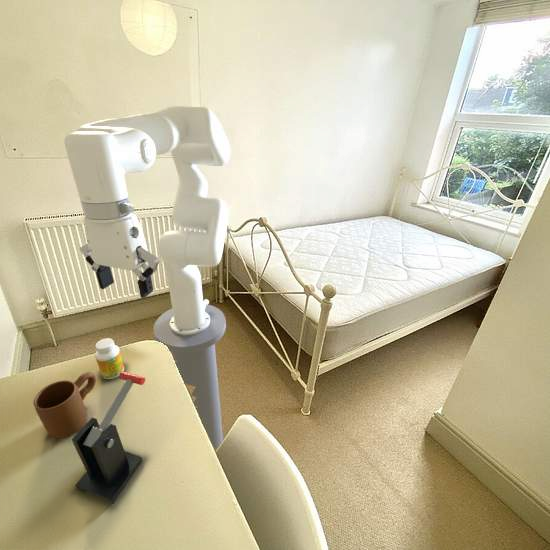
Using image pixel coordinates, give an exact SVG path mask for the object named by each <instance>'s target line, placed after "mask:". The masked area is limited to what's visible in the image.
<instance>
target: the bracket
mask: <svg viewBox="0 0 550 550" xmlns="http://www.w3.org/2000/svg"><path fill="white" fill-rule="evenodd" d="M99 426H100V424H99V422H98V418H96V417H95V418H94V417H91V418H90V419H89V420H88V421H86V422H85V424H84V425H83V427H82V428H81V429H80V430H78V431H77V432H76V433H75V435H74V436H73V437H72V438H71V442H72V444H73V447H74V448H75V451H76V453H77V455H78V457H79V459H80V461H81V463H82V465H83V467H84V469H85V471H86V472H85V473H84V474H83V475H82V477H81V478H80V479H79V480H78V482H77V483H76V484H75V489H76V490H78V491H80V492H84V493H86V494H88V495H90V496H93V497H94V498H97V499H100V500H102V501H105V502H107V503H109V504H112V505H113V504H115V502H116V501H117V499H118V498H119V496H120V495H121V494H122V492H123V491H124V489H125V488H126V486H127V484H128V483H129V481H130V480H131V478H132V477H133V475H134V474H135V473H136V471H137V470H138V468H139V467H140V465H141V464H142V462H143V457H142V456H140V455H137V454H134V453H131V452H129V451H125V449H124V448H125V447H124V445H123V443H122V440H121V437H120V434H119V431H118V428H117V425H115V424H113V423H110V425H109V426H108V428H107V429H106V430H105V431H104V432H103V433H102V435H101V436H100V437H99V438H98V439H97V440H96V442H95V443H94V444H93V445H92V446H91V447H89V446H86V445H83V443H84V441H85V439H86V438H87V436H88V434H89V433H90V431H91V429H92V428H93V427H95V428H98V427H99Z"/></svg>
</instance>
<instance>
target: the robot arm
mask: <svg viewBox="0 0 550 550" xmlns="http://www.w3.org/2000/svg"><path fill="white" fill-rule="evenodd" d="M63 140H64V141H63V142H64V149H65V152H66V155H67V158H68V163H69V166H70V169H71V172H72V176H73V180H74V183H75V187H76V190H77V194H78V197H79V201H80V205H81V208H82V212H83V215H84V216H83V226H84V227H83V228H84V233H85V238H86V244H84V245H82V246H80V247H79V250H80V252H81V254H82V255H83V256H84V257H85V261H86V262H87V263H88V264H89V265H90V266H91V270H92V271H93V272H95V276H96V278H97V282H98V286H99V289H101V290H105V289H106V288H108V287H110V286H111V285H113V284H114V283H115V280H114V277H113V273H112V268H114V269H119V270H124V271H130V272H131V271H132V272H133V274H135V276H136V277H137V278H138V279H137V282H136V283H137V286H138V291H139V297H141V298H143V299H145V298H146V297H148V296H149V295H150V294H151V293H152V292H153V291H154V285H153V279H152V275H153V274H154V273H155V272H156V271H157V270H158V266H159V263H160V259H161V261H162V263H163V266H164V269H165V273H166V277H167V282H168V283H167V284H168V290H169V291H168V292H169V297H170V303H171V309H173V315H174V316H173V317H172V319H171V320H170V328H171V330H172V331H173V332H174V333H176V334H179V335H194V334H197V333H200V332H202V331H203V330H205V329H206V328H207V327H208V326H209V324H210V317H209V315H208V314H207V313H206V312H205V308H206V306H207V305H210V301H209V299H207V298H205V299H204V297H203V286H202V285H203V284H202V276H201V272H200V270H199V268H198V267H203V268H204V267H205V268H213V267H216V266H218V265H219V264H220V262H221V260H222V257H223V252H224V246H225V241H226V236H227V235H226V234H227V230H228V224H229V223H228V222H229V209H228V205H227V204H226V202H225V200H223V199H221V198H218V197H211V196H210V197H208V196H207V195H208V192H209V191H208V190H209V184H208V181H207V179H206V177H205V176H204V174H203V173H202V172H201V171H200V170H199V168H198V167H197V166H208V167H209V166H211V167H223V166H225V165H227V163H228V162H229V160H230V157H231V146H230V142H229V139H228V137H227V135H226V132H225V130H224V128H223V126H222V124H221V122H220V120H219V119H218V117H217V116H216V114H215V113H214V111H212V110H211V109H210V108H208V107H205V106H185V105H184V106H182V105H180V106H179V105H178V106H177V105H175V106H174V105H173V106H168V107H165V108H162V109H158V110H155V111H152V112H147V113H142V114H141V113H140V114H135V115H130V116H124V117H117V118H108V119H102V120H98V121H95V122H91V123H87V124H83V125H81V126H79V127H78V128H77V129H75V131H74V132H70V133H68V134H66V136H65V137H64V139H63ZM167 153H171V157H172V159H173V163H174V166H175V170H176V172H177V176H178V177H177V178H178V185H177V189H176V194H175V198H174V203H173V207H172V214H171V218H172V219H171V220H172V222H173V224H174V225H175V226H176V227H178V228H180V230H179V229H174V230H168V231H165V232H164V233H162V234H161V236H160V237H159V240H158V244H157V245H158V252H159V256H160V258H159V257H157V256H156V255H154V254H153V253H151V252H149V250H148V246H147V242H146V238H145V235H144V231H143V229H142V226H141V224H140V221H139V220H138V217H137V215H136V214H134V211H135V207H134V206H133V204H130V199H129V198H130V197H129V193H128V190H127V183H126V179H125V174H134V173H142V172H145V171H147V170H149V169H150V168H151V167H153V165H154V163H155V161H156V157H157V156H158V155H164V154H167ZM181 229H185V230H181ZM193 230H196V231H193ZM204 231H207V232H204ZM140 268H141V269H142V270H143V271H142V270H141V269H140Z"/></svg>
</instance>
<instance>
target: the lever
mask: <svg viewBox="0 0 550 550" xmlns="http://www.w3.org/2000/svg"><path fill="white" fill-rule="evenodd" d="M118 379H119V380H121V381H125V382H124V384H123V385H122V387H121V389H120V391H118V393H117V395H116V397H115V398H114V401H113V402H112V404H111V405H110V407H109V409H108V411H107V412H106V414H105V416H104V417H103V419H102V421H101V422H100V424H99V427H98V428H95V427H93V428H92V429H91V431H90V433H89V434H88V436H87V438H86V439H85V441H84V443H83V445H86V446H89V447H91V446H92V445H93V444H94V443H95V442H96V440H97V439H98V438H99V437H100V436H101V435H102V433H103V432H104V431H105V430H106V429H107V428H108V426H109V425H110V424H112V422H113V420H114V417H116V414H117V413H118V410H119V409H120V407H121V405H122V404H123V402H124V400H125V398H126V397H127V395H128V394H129V391H130V390H131V389H132V387H133V385H134V384H136V385H139V386H143V385H144V384H145V382H146V378H145V377H144V376H140V375H137V374H135V373H130V372H126V371H122V372H121V373H120V374H119V376H118Z"/></svg>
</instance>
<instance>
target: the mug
mask: <svg viewBox="0 0 550 550" xmlns="http://www.w3.org/2000/svg"><path fill="white" fill-rule="evenodd" d="M86 381H87V383H86V384H85V382H86ZM96 382H97V376H96V374H95V373H94V372H91V371H87V372H84V373H82V374H81V375H79V376H78V378H77V379H76V380H75V381H74V382H73V381H71V380H58V381H55V382H52V383H50V384H48V385H46V386H45V387H43V388H42V389H41V390H40V391H39V392H38V393H37V394H36V395H35V397H34V400H33V407H34V409H35V412H36V414H37V416H38V418H39V419H40V422H41V423H42V425H43V427H44V429H45V430H46V432H47V434H48V435H49V436H50V437H51V438H54V439H64V438H68V437H70V436H73V435H74V434H77V433H78V432H79V431H80V430H81V429H82V428H83V427H84V426H85V425H86V423H87V420H88V411H87V408H86V405H85V403H84V401H85V398H86V397H87V395H88V394H89V393H91V391H92V390H93V389H94V387H95V385H96ZM84 384H85V385H84ZM83 385H84V386H83ZM82 386H83V387H82ZM81 387H82V388H81ZM80 388H81V389H80Z"/></svg>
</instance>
